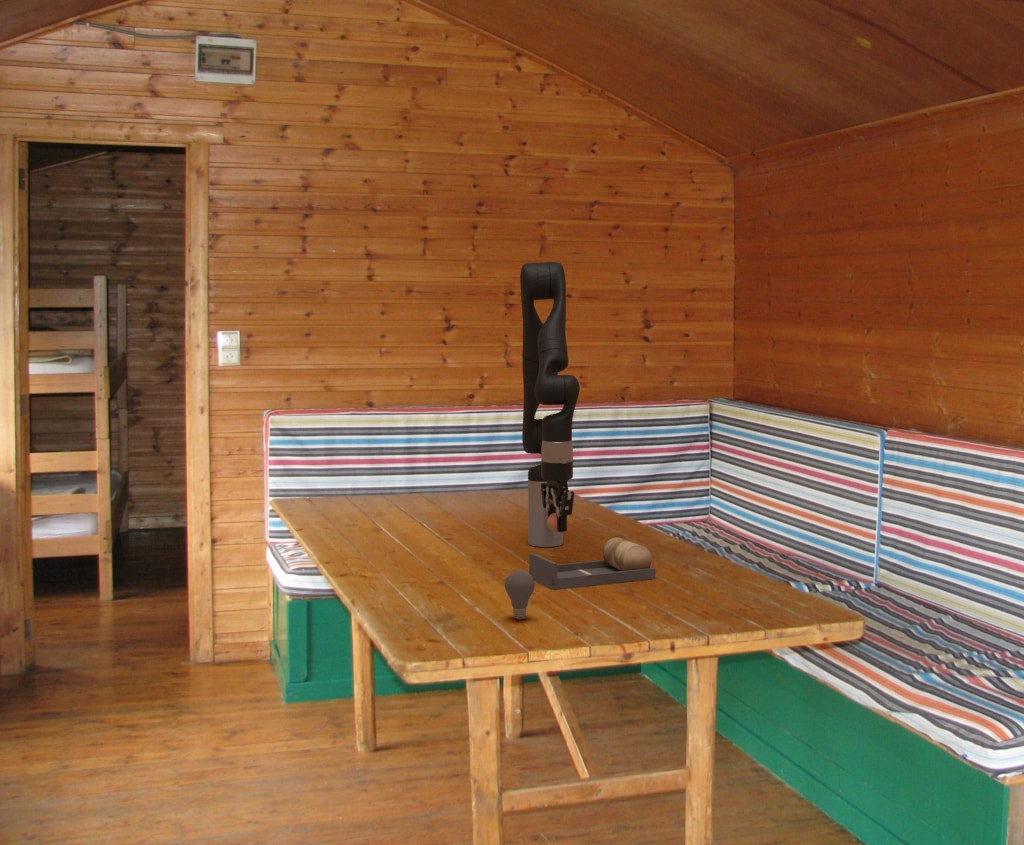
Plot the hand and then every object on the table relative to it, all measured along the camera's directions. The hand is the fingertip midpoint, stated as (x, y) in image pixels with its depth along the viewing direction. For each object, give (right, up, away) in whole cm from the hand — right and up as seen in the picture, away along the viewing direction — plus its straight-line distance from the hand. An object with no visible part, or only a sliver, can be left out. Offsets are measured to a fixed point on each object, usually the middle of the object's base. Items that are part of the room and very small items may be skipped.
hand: (557, 529), depth 279 cm
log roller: (+16, -10, -6) cm, 20 cm away
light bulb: (-9, -14, -44) cm, 48 cm away
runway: (+8, -10, -9) cm, 16 cm away
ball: (0, -1, 0) cm, 1 cm away
